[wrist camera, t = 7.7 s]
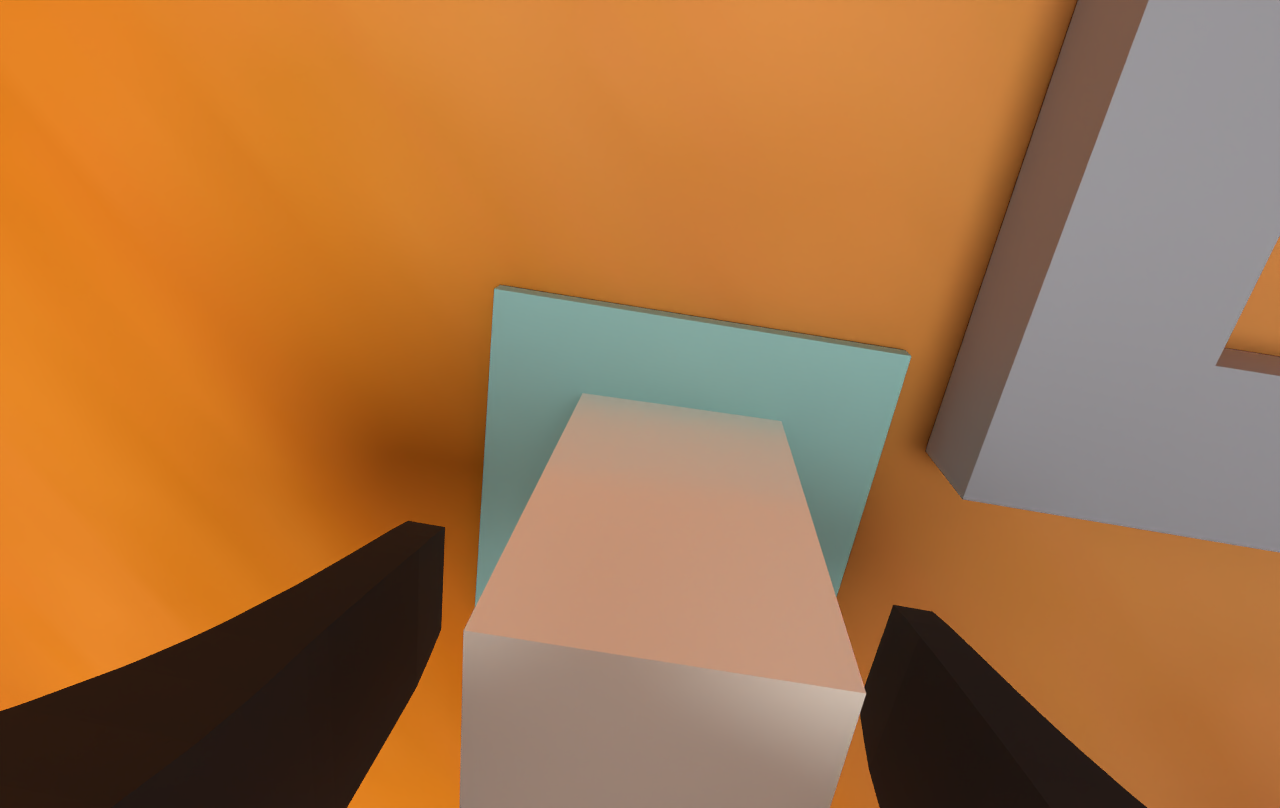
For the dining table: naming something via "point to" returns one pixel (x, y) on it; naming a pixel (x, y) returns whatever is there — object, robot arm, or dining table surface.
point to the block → (659, 626)
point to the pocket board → (1133, 285)
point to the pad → (681, 399)
